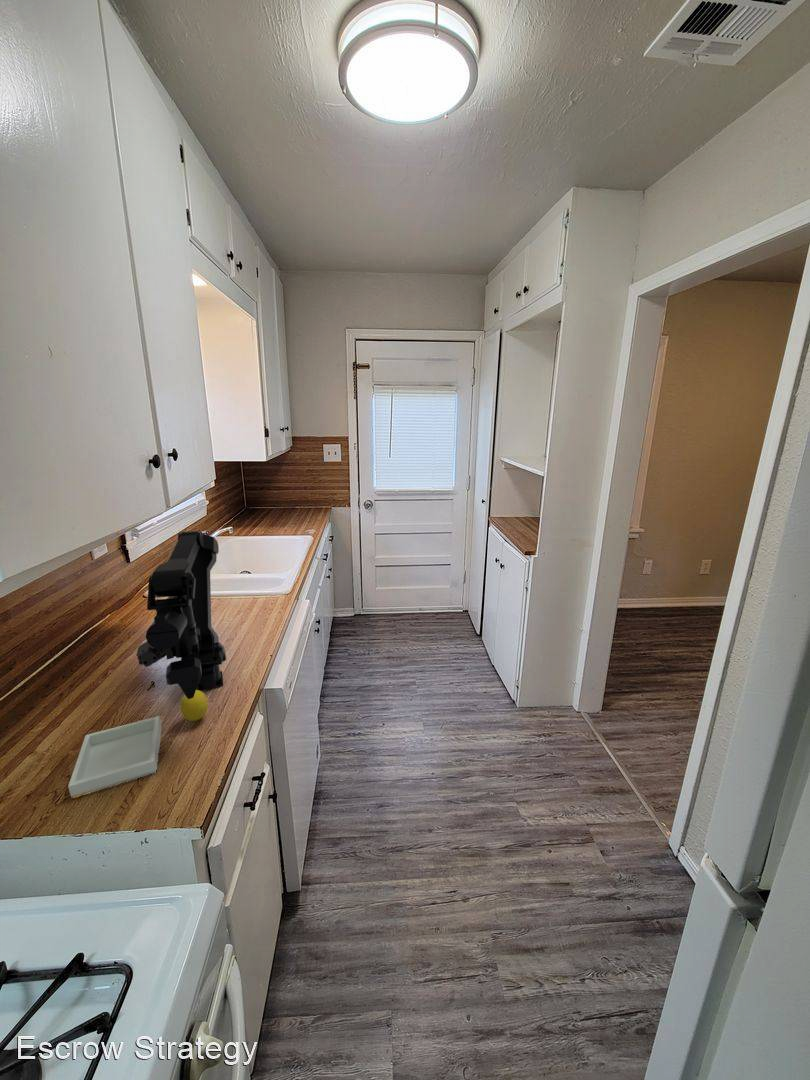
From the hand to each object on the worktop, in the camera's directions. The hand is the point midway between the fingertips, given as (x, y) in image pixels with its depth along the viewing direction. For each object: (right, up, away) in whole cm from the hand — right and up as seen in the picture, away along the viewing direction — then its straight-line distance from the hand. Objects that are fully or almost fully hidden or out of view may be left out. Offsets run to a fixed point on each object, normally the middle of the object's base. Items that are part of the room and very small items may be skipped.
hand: (190, 685), depth 94 cm
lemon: (0, -9, +3) cm, 9 cm away
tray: (-10, -12, -8) cm, 18 cm away
